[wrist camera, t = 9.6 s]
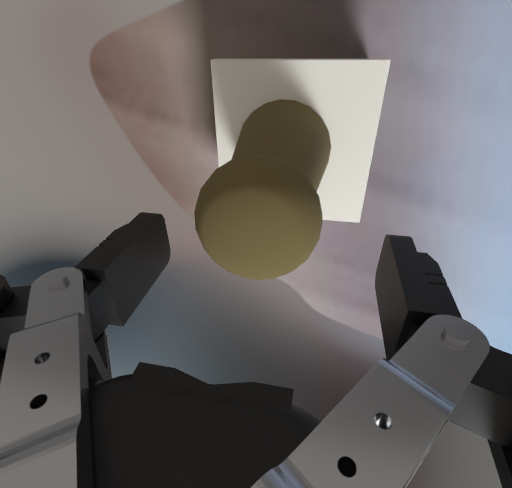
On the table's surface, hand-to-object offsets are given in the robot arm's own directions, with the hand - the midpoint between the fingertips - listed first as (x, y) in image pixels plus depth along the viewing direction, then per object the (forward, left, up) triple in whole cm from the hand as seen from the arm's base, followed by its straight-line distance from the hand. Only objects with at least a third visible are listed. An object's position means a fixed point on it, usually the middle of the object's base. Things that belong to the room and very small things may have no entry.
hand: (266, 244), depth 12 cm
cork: (+1, 0, -11) cm, 11 cm away
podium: (0, 0, -16) cm, 16 cm away
